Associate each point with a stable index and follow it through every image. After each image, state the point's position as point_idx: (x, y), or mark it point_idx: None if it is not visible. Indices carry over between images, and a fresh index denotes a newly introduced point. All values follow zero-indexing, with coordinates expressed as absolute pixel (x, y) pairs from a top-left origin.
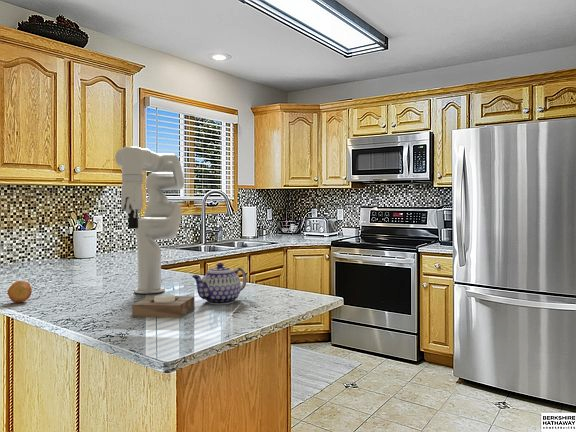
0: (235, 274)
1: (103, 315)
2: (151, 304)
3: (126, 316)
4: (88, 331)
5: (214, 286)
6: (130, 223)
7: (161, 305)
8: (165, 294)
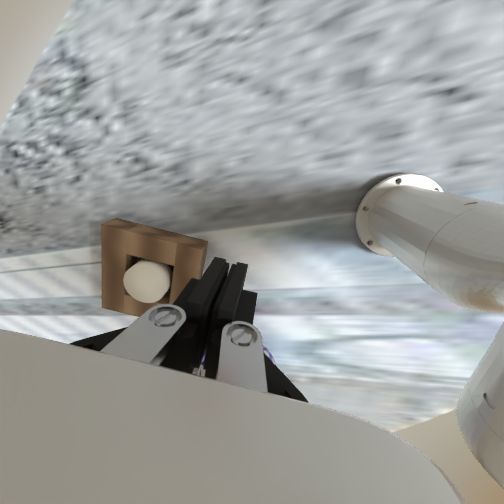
0: None
1: (125, 156)
2: (105, 261)
3: (119, 206)
4: (3, 162)
5: (197, 372)
6: (185, 292)
7: (102, 278)
8: (165, 285)
